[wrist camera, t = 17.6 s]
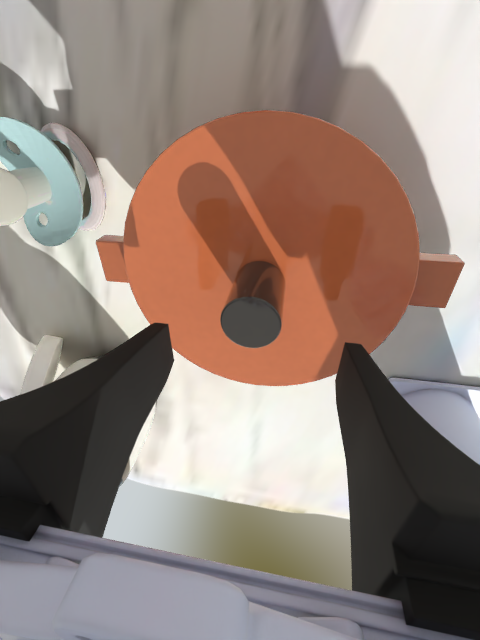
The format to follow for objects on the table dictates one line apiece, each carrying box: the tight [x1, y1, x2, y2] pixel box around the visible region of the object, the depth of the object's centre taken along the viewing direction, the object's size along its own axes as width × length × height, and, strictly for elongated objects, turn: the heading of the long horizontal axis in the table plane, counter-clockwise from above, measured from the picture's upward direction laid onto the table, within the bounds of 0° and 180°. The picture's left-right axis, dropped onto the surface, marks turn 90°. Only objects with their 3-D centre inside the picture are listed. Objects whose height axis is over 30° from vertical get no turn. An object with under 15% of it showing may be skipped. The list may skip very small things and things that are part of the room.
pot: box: [96, 235, 465, 308], centre depth 18 cm, size 13×18×6 cm
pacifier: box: [0, 117, 106, 246], centre depth 18 cm, size 7×6×6 cm
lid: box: [123, 110, 420, 386], centre depth 14 cm, size 14×14×5 cm
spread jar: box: [20, 335, 157, 486], centre depth 26 cm, size 12×11×12 cm
